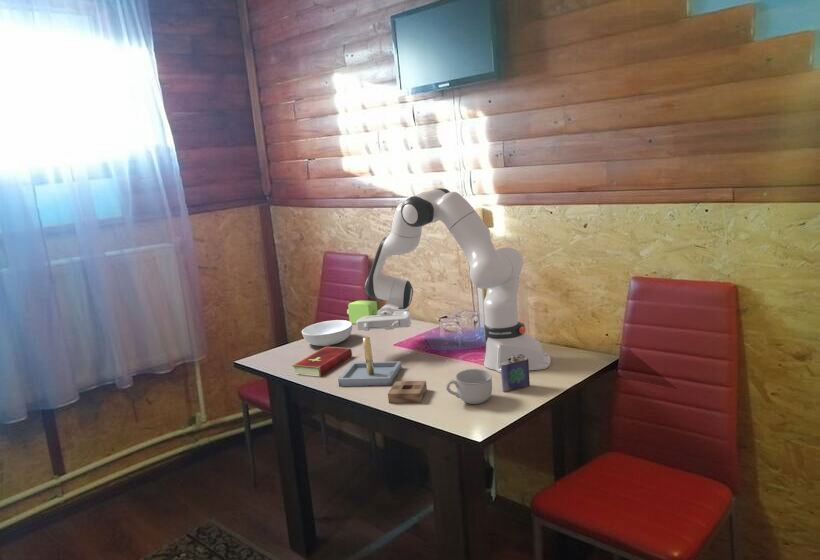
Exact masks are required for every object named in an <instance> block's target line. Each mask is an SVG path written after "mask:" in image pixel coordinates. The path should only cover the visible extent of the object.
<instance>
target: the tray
mask: <svg viewBox="0 0 820 560" xmlns="http://www.w3.org/2000/svg"><path fill="white" fill-rule="evenodd" d="M373 366H374V375H368V374H367V367H366V361H361V362H359V361H358V362H352V363H350V365H349V366H348V367H347V368H346V370H344V372H343V373H342V374H341V375H340V376H339V378H338V379H337V380H338V381H337V382H338V387H367V386H368V385H388V386H391V385H392V384H393V383H392V382H394V381H395V380H396V378H397V377H398V375H399V373H400V372H401V370H402V369H401V368H403V365H402V361H401V360H398V361H397V360H395V361H393V360H392V361H373ZM399 371H400V372H399ZM364 385H365V386H364ZM368 387H369V386H368Z"/></svg>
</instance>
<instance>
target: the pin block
mask: <svg viewBox="0 0 820 560" xmlns="http://www.w3.org/2000/svg"><path fill="white" fill-rule="evenodd" d="M394 381H395V382H394V383H393V385H392V386H391V388H390V389H389V391H388V393H387V398H388V403H389V404H404V403H405V404H412V403H413V404H414V403H415V404H417V403H418V404H419V403H422V401H423V398H424V396H425V395H426V393H427V390H428V386H427V381H426V380H402V381H401V380H399V381H396V380H394Z"/></svg>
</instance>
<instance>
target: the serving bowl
mask: <svg viewBox="0 0 820 560" xmlns="http://www.w3.org/2000/svg"><path fill="white" fill-rule="evenodd" d="M352 331H353V324H352V323H351V322H350V321H349V320H344V319H335V320H334V319H333V320H326V321H320V322H317V323H314V324H310V325H307V326H306V327H304V328H303V329H302V330H301V334H302V336H303V339H304V340H305V341H306V342H307V343H308V344H310V345H313V346H319V347H331V346H333V345H337V344H339V343H341V342H343V341H345V340H347V339H348V338H349V337H350V335H351V334H352Z"/></svg>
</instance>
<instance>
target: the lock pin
mask: <svg viewBox="0 0 820 560" xmlns="http://www.w3.org/2000/svg"><path fill="white" fill-rule="evenodd" d="M362 341H363V342H362V343H363V349H364V358H365V362H366V367H367V374H368V375H374V366H373V362H374V361H373V352H372V344H371V338H370V337H369V336H364V337H363V338H362Z"/></svg>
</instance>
